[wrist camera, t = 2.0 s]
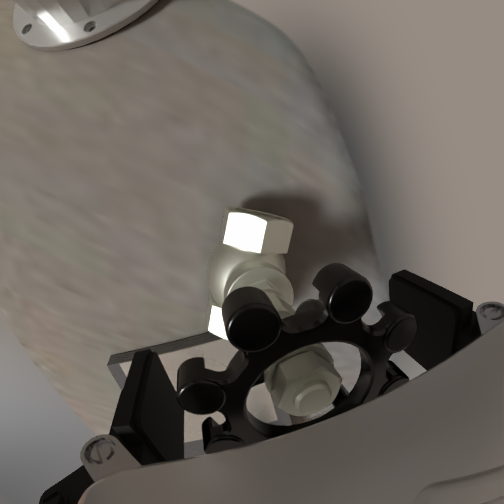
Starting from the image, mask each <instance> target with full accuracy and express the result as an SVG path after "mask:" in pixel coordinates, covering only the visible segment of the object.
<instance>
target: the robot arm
mask: <svg viewBox="0 0 504 504" xmlns="http://www.w3.org/2000/svg"><path fill="white" fill-rule="evenodd" d="M13 1H14V2H15V3H16V4H15V8H14V12H13V26H14V30H15V33H16V34H17V35H18V37H19V38H20V39H21V40H22V41H23V42H25V43H26V44H27V45H29V46H31V47H33V48H36V49H38V50H45V51H59V50H67V49H71V48H75V47H79V46H83V45H86V44H88V43H91V42H94V41H96V40H99V39H101V38H103V37H105V36H107V35H109V34H111V33H114V32H116V31H118V30H119V29H121V28H122V27H124V26H126V25H127V24H129V23H131V22H133V21H134V20H135V19H137V18H138V17H139V16H141V15H142V14H144V13H145V12H146V11H148V10H149V9H150V8H151V7H152V6H153V5H154V4H155V3H157V2H158V1H159V0H13ZM389 297H390V301H393V302H395V303H397V304H398V305H399V306H401V307H402V308H404V309H405V310H407V311H408V312H409V313H411V314H412V315H414V316H415V317H416V319H417V321H418V330H417V333H416V336H415V338H414V339H413V341H412V342H411V344H410V345H409V346H408V347H406V348H405V349H404V351H405V352H406V353H407V354H408V355H410V356H411V357H412V358H413V359H414V360H415V361H417V362H418V363H419V364H420V365H422V367H424V368H425V369H426V370H427V371H426V372H425V373H423V374H421V375H419V376H418V377H416V378H414V379H412V380H410V381H408V382H407V383H405V384H403V385H401V386H399V387H397V388H395V389H393V390H391V391H389V392H388V393H386V394H384V395H381V396H379V397H377V398H375V399H373V400H371V401H369V402H367V403H365V404H362V405H360V406H358V407H356V408H354V409H351V410H349V411H347V412H344V413H342V414H339V415H337V416H335V417H332V418H329V419H327V420H324V421H322V422H319V423H316V424H314V425H311V426H308V427H305V428H303V429H300V430H297V431H294V432H291V433H288V434H285V435H281V436H278V437H275V438H272V439H268V440H265V441H261V442H257V443H254V444H250V445H246V446H242V447H238V448H234V449H229V450H225V451H220V452H216V453H211V454H205V455H200V456H195V457H189V458H184V409H183V408H182V407H181V406H180V405H179V403H178V401H177V397H176V390H175V389H174V387H173V385H172V383H171V381H170V379H169V377H168V375H167V373H166V370H165V368H164V366H163V364H162V362H161V360H160V358H159V356H158V354H157V352H152V351H151V350H150V349H147V350H142V351H137V352H135V354H134V356H133V359H132V363H131V366H130V369H129V372H128V375H127V378H126V381H125V384H124V388H123V389H122V391H121V394H120V398H119V401H118V404H117V408H116V411H115V415H114V418H113V422H112V425H111V429H110V433H109V435H99V436H96V437H94V438H92V439H90V440H89V441H88V442H87V443H86V444H85V445H84V446H83V448H82V450H81V453H80V457H81V461H82V463H83V466H81V467H80V468H79V469H77V470H76V471H74V472H73V473H71V474H70V475H68V476H67V477H65V478H64V479H63V480H61V481H59V482H58V483H57V484H55V485H54V486H52V487H50V488H49V489H48V490H46V491H45V492H44V493H43V495H42V496H41V498H40V501H39V504H504V304H501V303H499V302H485V303H482V304H480V305H479V306H478V307H477V309H476V312H474V311H473V302H471V301H470V300H468V299H466V298H463V297H462V296H459V295H458V294H455V293H453V292H451V291H449V290H447V289H445V288H443V287H441V286H439V285H437V284H435V283H433V282H431V281H428V280H426V279H424V278H422V277H420V276H418V275H416V274H414V273H411V272H409V271H407V270H402V271H399V272H397V273H394V274H392V276H391V279H390V280H389Z"/></svg>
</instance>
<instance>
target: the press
mask: <svg viewBox="0 0 504 504" xmlns="http://www.w3.org/2000/svg"><path fill="white" fill-rule="evenodd" d="M147 349H150V350H151V351H152V352H157V354H158V356H159V358H160V360H161V362H162V364H163V366H164V368H165V370H166V373H167V375H168V377H169V379H170V381H171V383H172V385H173V387H174V389H175V390H176V392H177V371H178V368H179V366H180V365H181V364H182V363H183V362H184V361H186V360H188V359H190V358H194V357H203V358H204V360H205V368H206V369H210V370H213V371H225V370H226V368H227V366H228V364H229V362H230V361H231V359H232V358H233V357H234V355H235V354H236V353H237V351H238V349H236V348H235V347H234V346H233V345H232V344H231V343H230V342H229V340H226V339H223V338H221V337H219V336H217V335H215V334H213V333H211V332H208V333H204V334H200V335H197V336H193V337H189V338H185V339H181V340H177V341H173V342H169V343H165V344H161V345H157V346H152V347H148V348H144V349H139V350H135V351H130V352H126V353H121V354H116V355H112V356H110V359H109V362H108V364H107V366H108V368H109V370H110V371H111V373H112V375H113V377H114V378H115V380H116V382H117V383H118V385H119V387H120V388H121V390H122V389H123V388H124V384H125V381H126V378H127V375H128V372H129V369H130V366H131V363H132V359H133V356H134V354H135V352H137V351H142V350H147ZM246 406H247V410H248V411H249V412H250V413H251V414H252V415H253V416H254V417H255V418H257V419H259V420H260V421H263V422H265V423H268V424H273V425H286V426H289V425H292V423H291V419H290V415H289V413H287V412H285V411H283V410H281V409H280V408H278V407H277V405H276V402H275V400H274V397H273V396H272V395H271V394H270V393H269V392H268V390H267V388H266V385H265V383H262V384H259V385H257V386H254V387H252V388H251V390H250V392H249V395H248V397H247V401H246ZM209 416H210V417H212V418H213V419H214V420H215V421H216V422H217V423H218V424H219V425H221V424H222V423H224V422H225V420H226V419H225V417H224V415H223V414H222V413H220V412H218V411H216V412H215V413H212V414H208V415H196V414H192V413H189V412H187V411H185V410H184V458H189V457H195V456H200V455H205V454H206V453H205V452H204V449H203V439H202V427H201V426H202V423H203V421H204V420H205V419H206V418H208V417H209Z"/></svg>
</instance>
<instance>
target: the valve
mask: <svg viewBox="0 0 504 504" xmlns="http://www.w3.org/2000/svg"><path fill="white" fill-rule="evenodd" d="M293 226H294V224H293V223H292V221H291V220H290V219H287V218H285V217H282V216H278V215H275V214H271V213H266V212H262V211H257V210H252V209H246V208H239V207H226V208H225V212H224V217H223V222H222V228H221V233H220V237H221V239H222V241H221V242H220V243H219V244H218V246H217V247H216V248H215V250H214V251H213V253H212V255H211V258H210V260H209V264H208V269H207V280H208V286H209V289H210V296H209V302H208V308H207V314H206V318H207V328H208V331H210V332H211V333H213V334H215V335H217V336H219V337H221V338H223V339H226V340H229V342H230V343H231V344H232V345H233V346H234V347H235V348H236V349H238V351H237V353H236V354H235V355H234V357H233V358H232V359H231V361H230V362H229V364H228V366H227V368H226V370H225V371H213V370H210V369H206V368H205V360H204V358H203V357H194V358H190V359H188V360H186V361H184V362H183V363H182V364H181V365H180V366H179V368H178V371H177V392H176V397H177V401H178V403H179V405H180V406H181V407H182V408H183V409H184V410H185V411H187V412H189V413H192V414H196V415H208V414H212V413H215V412H216V411H218V412H220V413H222V414H223V415H224V417H225V419H226V420H225V422H224V423H222V424H221V425H219V424H218V423H217V422H216V421H215V420H214V419H213V418H212V417H210V416H209V417H208V418H206V419H205V420H204V421H203V423H202V426H201V427H202V439H203V449H204V452H205V453H206V454H211V453H216V452H220V451H225V450H229V449H234V448H238V447H242V446H246V445H250V444H254V443H257V442H261V441H265V440H268V439H272V438H275V437H278V436H281V435H285V434H288V433H291V432H294V431H297V430H300V429H303V428H305V427H308V426H311V425H314V424H316V423H319V422H322V421H324V420H327V419H329V418H332V417H335V416H337V415H339V414H342V413H344V412H347V411H349V410H351V409H354V408H356V407H358V406H360V405H362V404H365V403H367V402H369V401H371V400H373V399H375V398H377V397H379V396H381V395H384V394H386V393H388V392H389V391H391V390H393V389H395V388H397V387H399V386H401V385H403V384H405V383H407V382H408V381H409V378H408V376H407V375H406V374H405V373H404V372H403V371H402V370H400V368H399V367H398V366H397V365H396V364H395V363H394V362H392V361H390V360H389V358H390V356H391V355H392V354H393V353H397V352H400V351H402V350H404V349H405V348H406V347H408V346H409V345H410V344H411V342H412V341H413V339H414V338H415V336H416V333H417V330H418V321H417V319H416V317H415V316H414V315H412V314H411V313H409V312H408V311H407V310H405V309H404V308H402V307H401V306H399V305H398V304H397V303H395V302H393V301H386V302H383V303H381V304H379V305H378V306H377V309H378V310H379V312H380V313H381V315H382V318H381V319H380V321H379V322H377V323H376V324H374V325H366V324H365V323H364V322H363V321H362V320H361V317H362V316H363V315H364V314H365V313H366V312H367V310H368V309H369V307H370V304H371V302H372V296H373V292H372V287H371V284H370V283H369V281H368V280H367V279H366V278H365V277H363V276H361V275H360V274H358V273H357V272H355V271H354V270H352V269H350V268H349V267H347V266H346V265H344V264H340V263H333V264H329V265H327V266H325V267H324V268H322V269H321V270H320V271H319V272H318V273H317V275H316V276H315V278H314V280H313V283H312V284H313V286H314V287H315V288H316V289H318V290H319V291H320V292H319V300H315V299H308V300H305V301H304V302H302V303H301V304H300V306H299V307H298V308H297V310H296V312H295V311H294V309H293V308H292V305H293V300H294V292H293V288H292V285H291V283H290V281H289V280H288V278H287V277H286V267H285V261H284V258H283V255H282V253H287V252H288V248H289V244H290V239H291V235H292V231H293ZM323 342H344V343H348V344H351V345H354V346H356V347H357V348H358V349H359V352H360V355H361V371H360V375H359V378H358V380H357V382H356V384H355V386H354V388H353V389H352V391H351V392H350V393H349V392H348V391H347V390H346V389H345V387H344V386H343V385H342V384H341V383H342V378H341V376H340V375H339V373H338V372H337V371H336V369H335V368H334V363H333V359H332V357H331V355H330V353H329V352H328V351H327V350H326V348H325V347H324V346H323V344H322V343H323ZM262 383H265V385H266V388H267V390H268V392H269V393H270V394H271V395H272V396H273V397H274V400H275V402H276V405H277V407H278V408H280V409H281V410H283V411H285V412H287V413H289V414H291V415H293V416H297V417H304V416H308V415H311V414H314V413H317V412H319V411H321V410H323V409H324V408H326V407H328V406H329V405H330V404H331V403H332V404H333V406H334V409H332V410H331V411H329V412H328V413H326V414H325V415H323V416H321V417H319V418H317V419H314V420H312V421H309V422H306V423H302V424H296V425H289V426H286V425H273V424H268V423H265V422H263V421H260V420H259V419H257V418H255V417H254V416H253V415H252V414H251V413H250V412H249V411H248V410H247V406H246V401H247V397H248V395H249V392H250V390H251V388H252V387H254V386H257V385H259V384H262Z"/></svg>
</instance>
